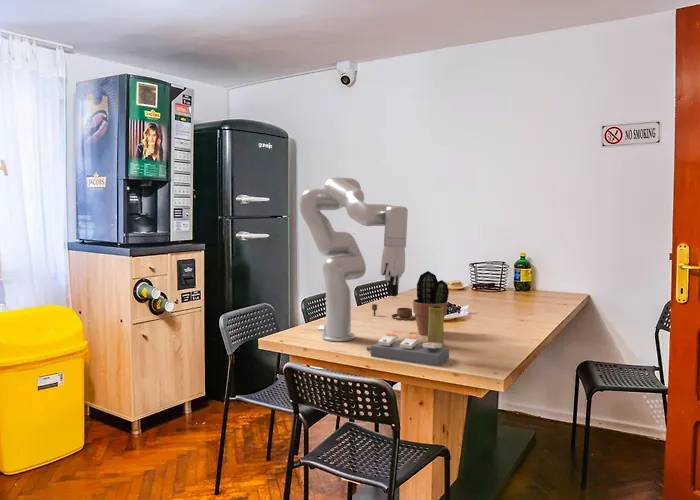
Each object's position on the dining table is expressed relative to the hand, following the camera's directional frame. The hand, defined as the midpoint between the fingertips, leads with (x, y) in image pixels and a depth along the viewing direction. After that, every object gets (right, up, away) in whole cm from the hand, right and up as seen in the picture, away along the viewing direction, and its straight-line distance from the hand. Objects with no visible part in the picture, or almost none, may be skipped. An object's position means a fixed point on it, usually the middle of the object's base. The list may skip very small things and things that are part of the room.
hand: (392, 295), depth 185 cm
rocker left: (-2, -15, -1) cm, 15 cm away
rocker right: (+12, -16, -9) cm, 22 cm away
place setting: (+8, -16, +64) cm, 66 cm away
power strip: (+4, -20, -4) cm, 21 cm away
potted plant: (+17, -18, +30) cm, 39 cm away
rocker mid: (+5, -15, -5) cm, 17 cm away
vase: (+17, -19, +11) cm, 28 cm away
